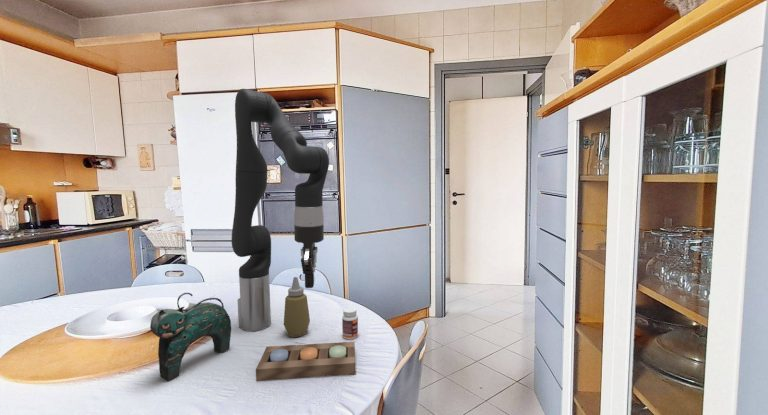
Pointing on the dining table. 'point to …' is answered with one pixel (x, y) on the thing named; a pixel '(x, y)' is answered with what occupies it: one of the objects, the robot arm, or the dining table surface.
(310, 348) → the orange button
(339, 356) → the sage green button
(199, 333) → the ceramic cat
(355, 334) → the pill bottle
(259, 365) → the walnut button panel
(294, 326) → the squeeze bottle
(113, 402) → the dining table surface
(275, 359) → the slate blue button
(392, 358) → the dining table surface
